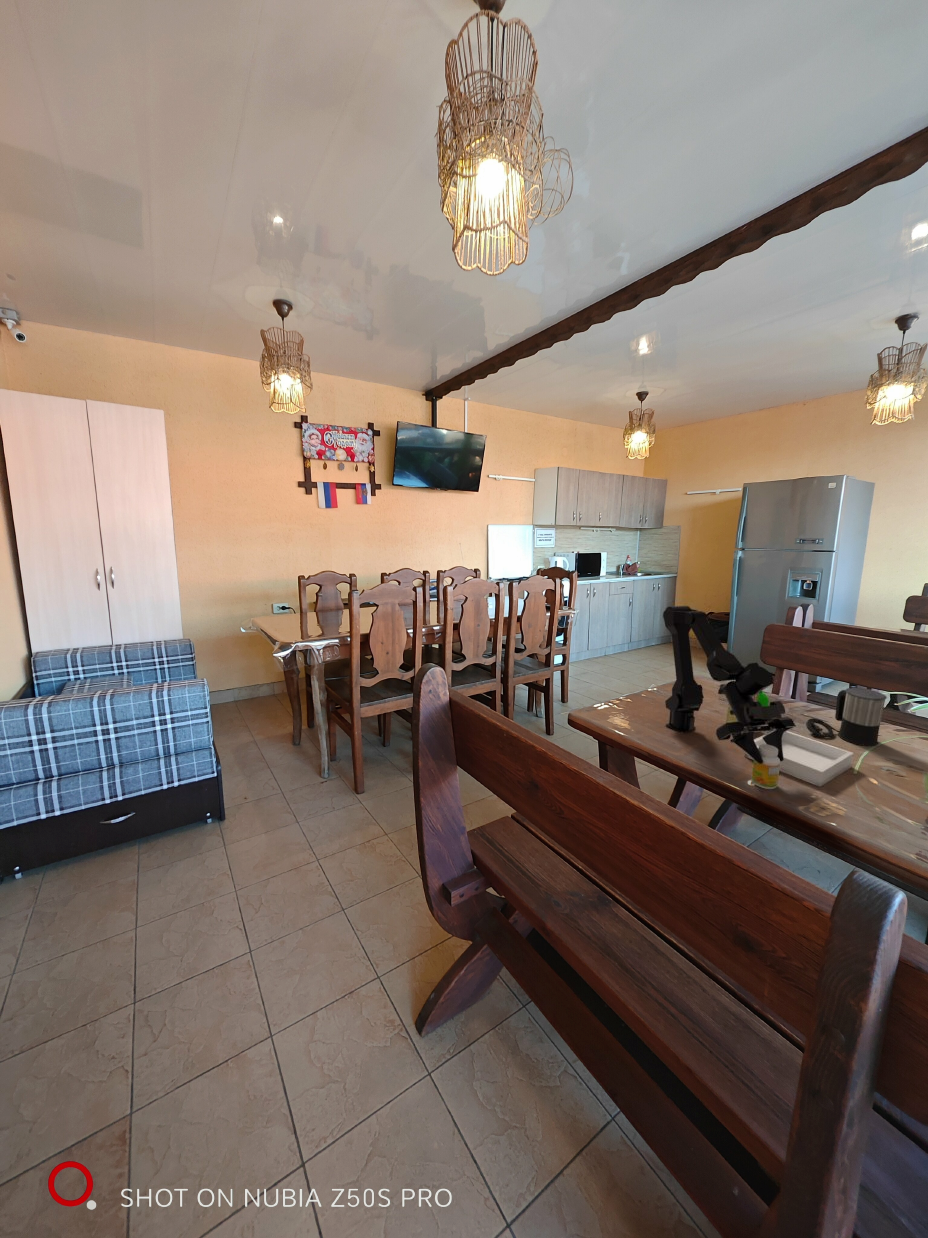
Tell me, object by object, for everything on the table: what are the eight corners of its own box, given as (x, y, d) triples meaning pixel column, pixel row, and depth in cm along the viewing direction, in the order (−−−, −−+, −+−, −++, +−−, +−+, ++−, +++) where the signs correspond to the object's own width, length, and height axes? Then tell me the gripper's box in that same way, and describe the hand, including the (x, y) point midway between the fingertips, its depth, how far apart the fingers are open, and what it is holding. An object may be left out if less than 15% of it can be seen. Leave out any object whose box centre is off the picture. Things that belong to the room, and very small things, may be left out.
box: (744, 756, 127) (746, 743, 126) (777, 740, 136) (779, 728, 135) (819, 787, 112) (822, 772, 111) (851, 767, 121) (853, 753, 120)
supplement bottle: (746, 778, 116) (750, 743, 114) (766, 777, 117) (770, 742, 115) (761, 790, 111) (766, 753, 109) (782, 789, 111) (787, 752, 109)
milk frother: (887, 745, 133) (895, 697, 130) (842, 751, 130) (851, 702, 127) (838, 725, 147) (845, 681, 144) (797, 729, 143) (804, 685, 141)
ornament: (747, 706, 162) (750, 679, 160) (772, 713, 156) (775, 686, 154) (735, 711, 158) (738, 684, 156) (760, 719, 151) (764, 690, 149)
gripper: (728, 692, 111) (759, 755, 103) (794, 687, 115) (829, 748, 106) (703, 710, 121) (730, 769, 112) (765, 705, 124) (795, 762, 115)
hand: (771, 762), depth 111 cm, fingers closed on supplement bottle, 5 cm apart
